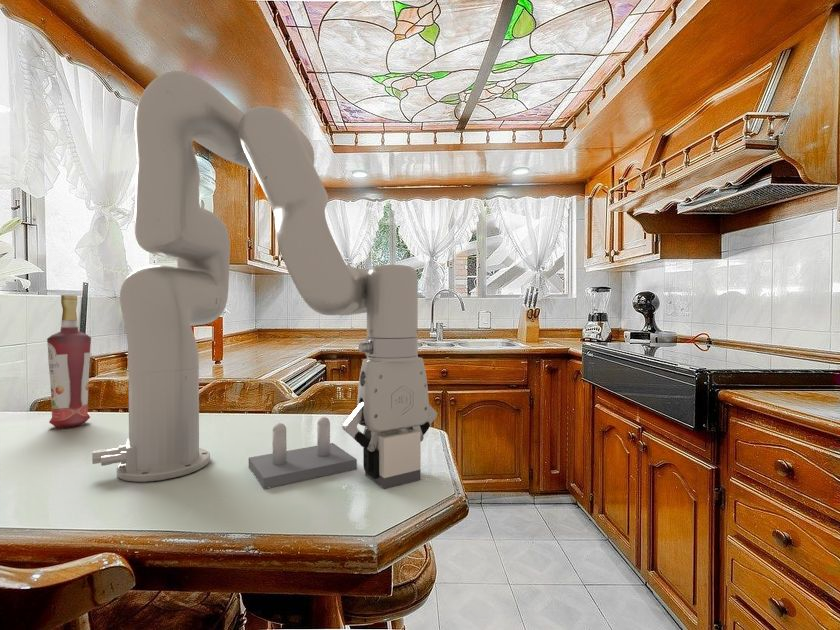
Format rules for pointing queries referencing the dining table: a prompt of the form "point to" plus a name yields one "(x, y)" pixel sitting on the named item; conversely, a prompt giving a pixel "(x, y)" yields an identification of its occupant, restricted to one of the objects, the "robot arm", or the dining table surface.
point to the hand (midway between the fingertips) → (392, 469)
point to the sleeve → (398, 457)
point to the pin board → (300, 459)
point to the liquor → (69, 369)
